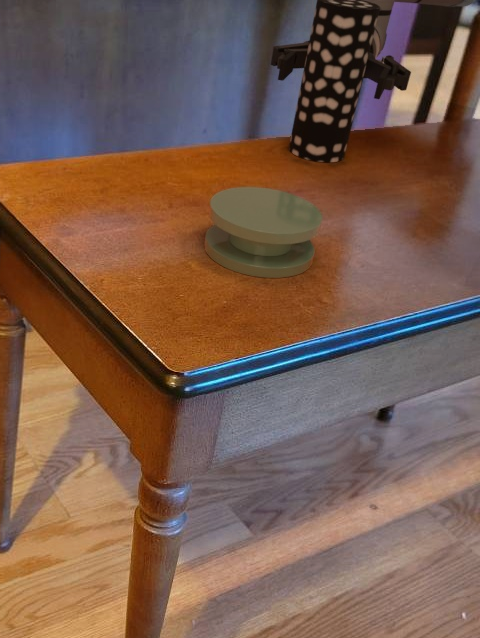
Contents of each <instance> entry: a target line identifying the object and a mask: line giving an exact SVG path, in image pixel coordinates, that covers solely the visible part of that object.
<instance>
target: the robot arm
mask: <svg viewBox="0 0 480 638" xmlns="http://www.w3.org/2000/svg"><path fill="white" fill-rule="evenodd" d="M364 1H368V2H371V3H374V4H377V5H379V6H380V10H379V14H378V18H377V22H376V27H375V31H374V35H373V39H372V43H371V47H370V52H369V56H368V60H367V64H366V68H365V72H364V77H363V79H368V80H370V81H372V82H374V83H376V88H375V92H374V94H373V95H374V96H373V99H375V100H380V99H381V97H382V96H383V93H384V91H385V90H386V91H393V89H394V88H397V89H398V90H400V91H402V92H403V91H407V89H408V85H409V81H410V78H411V75H412V71H411V70H409V68H406V67H405V66H404V65H402V64H401V63H400V62H398V61H396V60H395V57H394V56H392V55H389V54H388V55H385V56H382V57H381V59H377V58H378V57H379V55H380V54H381V53H382V51H383V50H384V48H385V45H386V41H387V36H388V33H387V31H388V27H389V23H390V19H391V15H392V11H393V8H394V4H395V3H405V4H406V3H407V4H419V5H420V4H421V5H428V6H429V5H430V6H431V5H432V6H443V7H445V8H455V7H468V6H470V5H472V4H473V3H475V2H476V1H477V0H364ZM308 45H309V40H306V41H303V42H296V43H290V44H282V45H273V47H272V53H271V59H270V65H271V66H273V67H276V69H278V70H279V71H278V75H277V81H282V82H283V81H285V80H286V79H287V77H288V76H289V75H291V74H292V73H293V71H294V69H295V70H296V69H304V66H305V61H306V56H307V51H308Z"/></svg>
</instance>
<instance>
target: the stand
mask: <svg viewBox="0 0 480 638" xmlns="http://www.w3.org/2000/svg"><path fill="white" fill-rule="evenodd" d="M208 217H209V219H210V220H211V222H212V223H213V225H211V226H209V228H208V229H207V230H206V232H205V236H204V244H203V245H204V251H205V253H206V255H207V256H208V257H209V258H210V260H212V261H214V262H215V263H216V264H218V265H219V266H222V267H223V268H226V269H228V270H230V271H232V272H236V273H239V274H241V275H245V276H246V275H247V276H251V277H256V278H263V279H265V278H266V279H283V278H290V277H294V276H298V275H300V274H303V273H306V272H307V271H308V270H309V269H310V268H311V266H312V264H313V262H314V258H315V254H316V253H315V252H316V250H315V246H314V243H313V242H312V241H311V240H312V239H314V238H315V237H317V236H318V234H319V233H320V232H321V228H322V224H323V219H324V218H323V213H322V212H321V210H320V209H319V208H318V207H317V206H316V205H315V204H313V203H312V202H310V201H308V200H306V199H305V198H303V197H301V196H298V195H295V194H293V193H290V192H287V191H282V190H279V189H274V188H267V187H259V186H238V187H231V188H227V189H223V190H220V191H218V192H216V193H214V195H213V196H212V197H211V198H210V200H209V206H208Z"/></svg>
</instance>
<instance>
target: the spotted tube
mask: <svg viewBox="0 0 480 638" xmlns="http://www.w3.org/2000/svg"><path fill="white" fill-rule="evenodd" d="M314 9H315V10H314V15H313V20H312V25H311V31H310V36H309V40H308V41H309V45H308V51H307V56H306V61H305V66H304V68H303V70H302V71H303V72H302V78H301V83H300V87H299V93H298V98H297V104H296V108H295V114H294V118H293V123H292V129H291V134H290V140H289V144H288V150H289V152H290V153H291V154H293V155H294V156H296V157H299V158H301V159H304V160H307V161H312V162H316V163H336V162H340V161H342V160H344V158H345V155H346V152H347V148H348V143H349V139H350V135H351V130H352V127H353V123H354V118H355V114H356V110H357V106H358V102H359V98H360V93H361V88H362V85H363V80H364V78H363V77H364V72H365V68H366V64H367V60H368V56H369V52H370V47H371V43H372V39H373V35H374V31H375V27H376V22H377V18H378V14H379V10H380V6H379V5H377V4H374V3H371V2H368V1H364V0H316V4H315V8H314Z"/></svg>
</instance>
